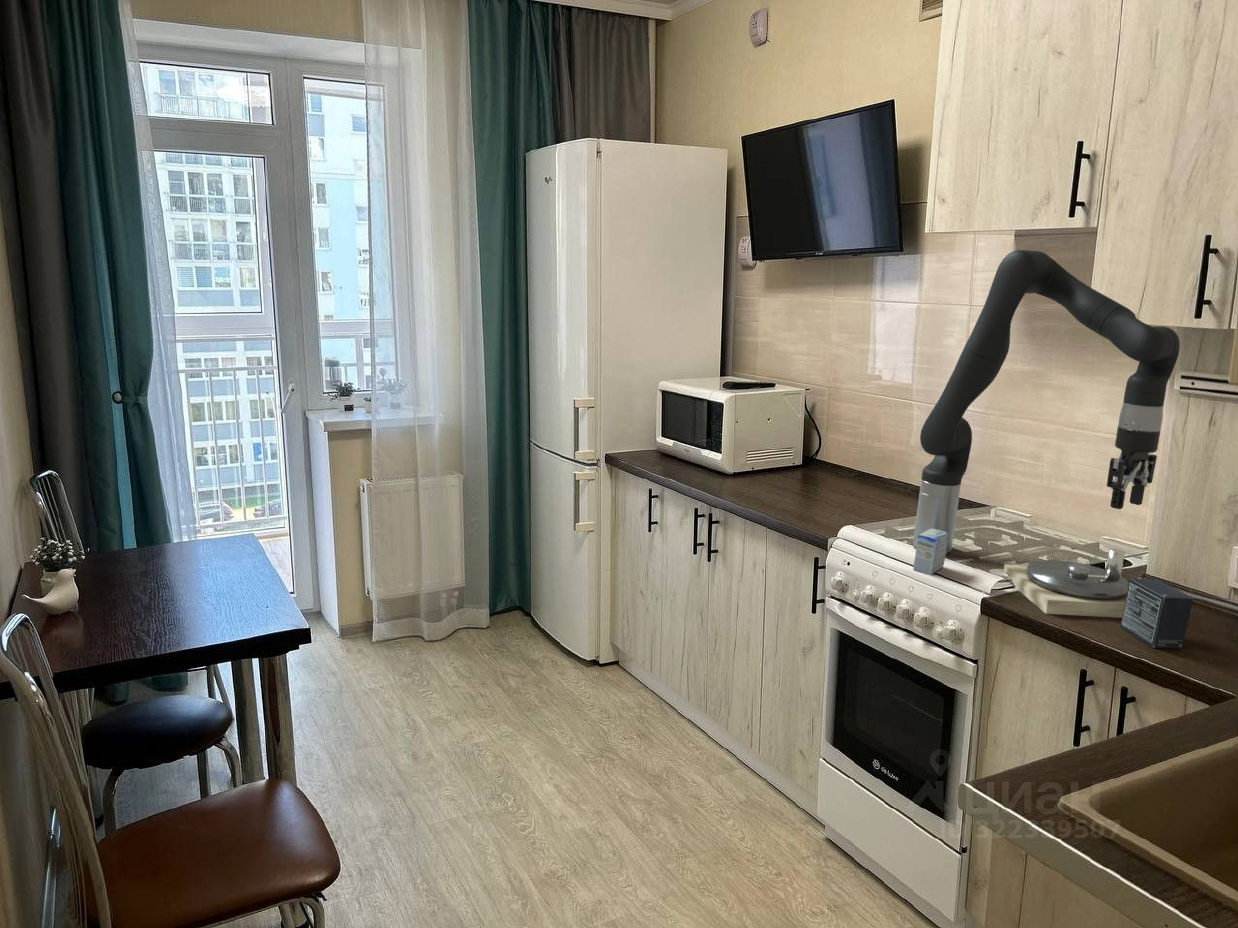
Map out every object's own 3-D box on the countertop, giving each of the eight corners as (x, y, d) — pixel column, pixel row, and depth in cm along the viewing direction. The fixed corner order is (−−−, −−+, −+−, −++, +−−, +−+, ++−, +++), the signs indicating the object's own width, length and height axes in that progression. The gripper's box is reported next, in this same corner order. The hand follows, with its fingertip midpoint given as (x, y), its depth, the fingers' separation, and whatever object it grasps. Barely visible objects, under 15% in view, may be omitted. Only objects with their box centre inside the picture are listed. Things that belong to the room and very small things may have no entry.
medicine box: (925, 562, 215) (930, 527, 213) (944, 567, 212) (949, 532, 210) (912, 570, 209) (917, 534, 207) (931, 575, 206) (936, 538, 204)
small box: (1185, 650, 171) (1196, 597, 169) (1153, 649, 171) (1163, 597, 168) (1149, 627, 182) (1159, 578, 179) (1118, 627, 181) (1127, 577, 179)
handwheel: (1051, 596, 186) (1057, 561, 184) (1011, 564, 206) (1016, 532, 204) (1148, 601, 186) (1155, 567, 185) (1099, 569, 206) (1104, 537, 204)
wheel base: (1002, 576, 207) (1004, 564, 207) (1098, 582, 207) (1100, 569, 207) (1045, 613, 186) (1048, 600, 185) (1152, 619, 186) (1155, 605, 185)
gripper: (1138, 421, 189) (1125, 498, 193) (1101, 425, 181) (1089, 505, 185) (1176, 427, 183) (1162, 506, 187) (1140, 432, 175) (1126, 514, 179)
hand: (1126, 506), depth 186 cm, fingers open, 7 cm apart
